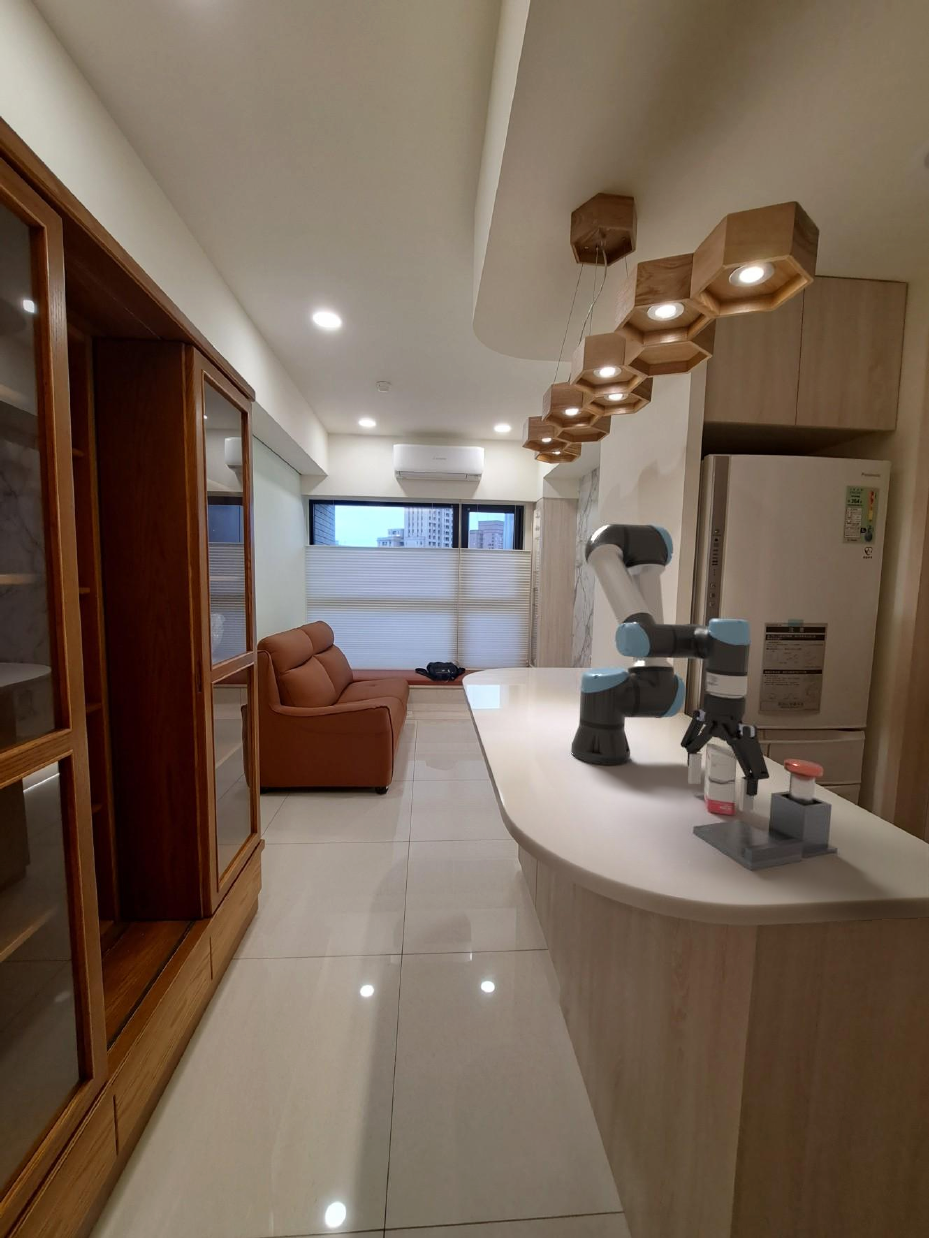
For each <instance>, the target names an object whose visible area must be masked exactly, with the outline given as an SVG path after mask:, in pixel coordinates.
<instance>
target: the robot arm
mask: <svg viewBox="0 0 929 1238" xmlns="http://www.w3.org/2000/svg"><path fill="white" fill-rule="evenodd" d="M673 553H674V544H673V539H672V536H671V534H670V532H669V531H668V530H667V529H665V528H664V527H663V526H657V525H652V524H645V525H644V524H629V523H628V524H626V523H625V524H621V523H609V524H604V525H603V526H600V527H599V528H597V529H596V530H595V531H594V532H593V533H592V534H591V535H590V536H589V538H588V540H587V542H586V544H585V548H584V558H585V561H586V564H587V566H588V569H589V570H590V571H591V572H592V573H594V574H595V575H596V577H597V579H598V581H599V583H600V586H601V588H602V590H603V593H604V595H605V597H606V599H607V601H608V604H609V606H610V608H611V610H612V613H613V615H614V617H615V619H616V621H617V624H618V627H617V629H616V631H615V636H614V637H615V640H614V641H615V647H616V650H617V652H618V653H619V654H620V655H621V656H623V657H627V658H628V657H629V658H630V657H631V658H632V659H633V660H632V663H631V664H630V665H629V666H627V669H625V668H623V667H617V666H615V667H610V666H607V667H605V666H604V667H596V668H591V669H588V670H586V671H585V672H584V673H583V674H582V676H581V682H580V683H581V684H580V688H579V689H580V700H579V701H580V703H579V721H578V727H577V729H576V732H575V734H574V737H573V739H572V740H573V741H572V742H571V750H570V751H571V752H572V753H573V755H575V756H576V757H578V758H579V759H578V758H577V759H578V760H580V759H582V760H581V761H583V760H584V761H583V762H586V763H590V764H594V765H603V766H620V765H624V764H627V763H628V762H630V760H631V750H630V746H629V742H628V738H627V735H626V730H625V724H626V723H625V721H626V718H641V719H642V718H644V719H645V718H647V719H648V718H650V719H651V718H652V719H662V718H672V717H675V716H676V715H678V714H679V713H680V711H681V710H682V708H683V706H684V703H685V701H686V686H685V685H686V684H685V682H684V681H683V678H682V676H680V675H679V674H677V673H675V669H674V666H673V664H672V663H670V662H669V661H668V659H667V658H670V659H698V660H703V661H705V662H706V665H705V682H704V689H705V690H706V692H705V693H704V695H703V696H704V697H703V709H694V710H693V711H692V719H691V721H690V723H689V725H688V727H687V729H686V731H685V733H684V735H683V738H682V739H681V742H680V746H681V748H684V749H685V750H686V752H687V761H686V762H687V763H686V765H687V767H688V774H687V783H688V784H689V785H695V784H696V785H697V784H701V776H702V762H703V761H702V759H703V758H702V757H703V754H702V753H701V752H702V751H701V750H702V749H703V748H704V747H705V746H707V743H709V741H710V740H711V739H713V738H718V739H720V740H721V741H723V742H726V743H727V745H728V747H731V749H732V751H733V753H734V754H735V756H736V758H737V762H738V764H739V766H740V768H741V771H742V772H743V774H744V776H741V777H740V791H739V792H740V793H739V807H738V810H739V811H741V812H749V811H754V804H755V803H754V801H755V797H756V796H757V794H758V788H759V781H761V780H767V779H769V778H770V773H769V770H768V766H767V764H766V761H765V757H764V754H763V751H762V747H761V745H760V741H759V738H758V737H759V736H758V727H757V726H756V725H747V724H744V723H743V717H744V716H745V714H746V709H747V708H746V706H747V705H746V704H747V698H746V697H745V695H747V693H748V677H749V676H748V672H749V663H750V662H749V661H750V660H749V659H750V651H751V650H750V649H751V642H752V639H751V624H750V622H749V621H747V620H745V619H736V618H714V617H713V618H711V619H709V622H708V625H701V624H698V623H684V624H676V623H674V624H670V623H669V624H667V623H665V620H664V607H663V594H662V583H661V582H662V581H661V575H663V574H664V573H665V571H666V567H667V566H668V565H669V564H670V563H671V561H672V558H673ZM705 723H706V725H705V726H704V724H705ZM571 752H570V753H571ZM572 753H571V754H572ZM573 755H572V756H573ZM575 756H574V757H575ZM576 757H575V758H576Z"/></svg>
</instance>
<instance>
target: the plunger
mask: <svg viewBox="0 0 929 1238" xmlns="http://www.w3.org/2000/svg"><path fill="white" fill-rule="evenodd" d="M783 769H784V770H785V771H786V772H789V785H788V791H789V796H788V799H790V800H792V801H794V802H796V803H798V804H801V805H803V806H808V805H813V801H814V798H815V788H816V787H815V785H816V784H815V783H816V779H817V778H822V777H823V776H824V767H823V766H822V765H820V764H818V763H815V762H812V761H809V760H803V759H796V758H786V759H784V761H783Z"/></svg>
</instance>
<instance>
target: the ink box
mask: <svg viewBox="0 0 929 1238" xmlns="http://www.w3.org/2000/svg"><path fill="white" fill-rule="evenodd" d="M705 752H706V753H705V765H704V768H705V769H704V783H703V798H704V799H703V800H704V802H705V805H706V809H707V811H708V812H710V813H716V814H721V815H726V816H734V815H735V797H736V796H735V795H736V778H737V777H736V776H737V762H738V760H737V758H736V756H735V754H734V752H733V750H732V748H731V746H729V745H728V746H727V745H721V744H715V743H709V742H707V743H706V751H705Z"/></svg>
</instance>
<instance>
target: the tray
mask: <svg viewBox="0 0 929 1238" xmlns="http://www.w3.org/2000/svg"><path fill="white" fill-rule="evenodd" d="M692 829H693V830H692V834H694V835H696V836H697V837H699V838H700V839H702V840H703V841H704V842H706V843H707V844H709V845H711V846H712V847H714V849H715V848H716V849H717V850H719V851H720V852H722V853H723V854H725V855H726V856H728V857H729V858H730V859H733V860H734V861H735V862H737V863H739V864H741V865H742V866H743V867H745V868H746V869H748V870H749V871H755V870H756V871H757V870H761V869H765V868H772V867H776V866H780V865H781V866H782V865H787V864H791V863H797V862H798V863H799V862H801V861H803V858H802V851H803V842H802V841H800V840H798V839H797V838H795V839H789V840H783V841H778V840H776V839H775V838H773V837H771V836H769V835H767V834H765V833H764V832H762V831H763V830H760V829H758V828H757V827H754V826H752V825H751V824H749V823H747V822H745V821H743V820H742V819H736V820H735V819H734V820H728V821H720V822H715V823H714V822H713V823H709V824H708V823H707V824H702V825H695V826H693V828H692Z"/></svg>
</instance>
